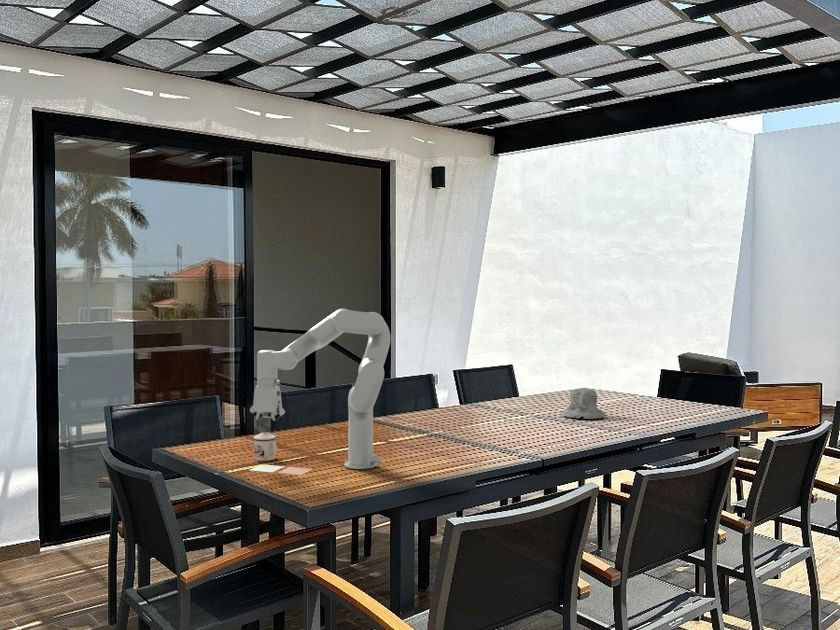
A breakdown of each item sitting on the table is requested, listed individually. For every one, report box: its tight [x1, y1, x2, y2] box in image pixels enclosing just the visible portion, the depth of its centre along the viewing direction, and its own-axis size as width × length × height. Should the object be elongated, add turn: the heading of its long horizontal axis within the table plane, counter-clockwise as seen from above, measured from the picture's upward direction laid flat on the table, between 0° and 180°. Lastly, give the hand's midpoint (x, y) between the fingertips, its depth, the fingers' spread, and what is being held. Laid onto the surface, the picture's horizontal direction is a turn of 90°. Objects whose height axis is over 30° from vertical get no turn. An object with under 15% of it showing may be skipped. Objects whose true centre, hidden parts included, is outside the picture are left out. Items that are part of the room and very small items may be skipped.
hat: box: [561, 387, 607, 420], centre depth 433 cm, size 26×23×15 cm
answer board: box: [249, 464, 314, 476], centre depth 303 cm, size 22×10×1 cm, turn 72°
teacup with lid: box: [252, 432, 278, 462], centre depth 322 cm, size 12×9×12 cm
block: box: [257, 415, 273, 433], centre depth 304 cm, size 5×5×5 cm
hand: (267, 429), depth 304 cm, fingers closed on block, 5 cm apart
